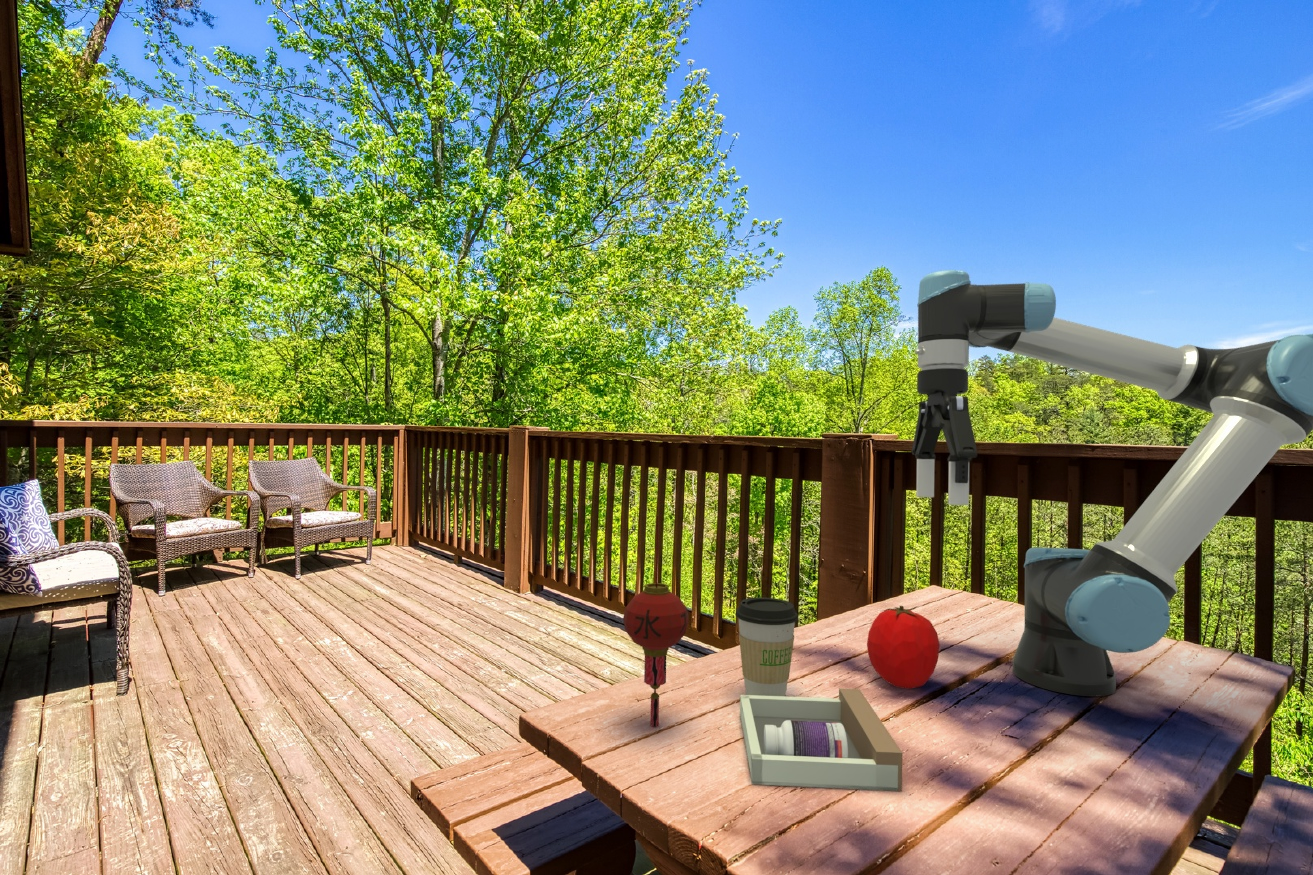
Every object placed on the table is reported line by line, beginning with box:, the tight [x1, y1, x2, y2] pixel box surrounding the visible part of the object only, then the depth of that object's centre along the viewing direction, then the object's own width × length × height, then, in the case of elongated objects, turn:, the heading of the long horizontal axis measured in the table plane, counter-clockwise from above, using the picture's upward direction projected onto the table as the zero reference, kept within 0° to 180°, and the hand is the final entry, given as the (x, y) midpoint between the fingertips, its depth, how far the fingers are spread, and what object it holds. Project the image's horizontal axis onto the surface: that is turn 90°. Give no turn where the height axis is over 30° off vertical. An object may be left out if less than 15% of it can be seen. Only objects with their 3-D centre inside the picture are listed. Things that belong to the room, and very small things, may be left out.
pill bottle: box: [764, 720, 848, 758], centre depth 78 cm, size 5×5×10 cm
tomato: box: [866, 605, 940, 690], centre depth 106 cm, size 12×12×13 cm
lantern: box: [622, 514, 690, 728], centre depth 90 cm, size 10×10×30 cm
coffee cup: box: [735, 596, 799, 697], centre depth 100 cm, size 10×10×15 cm
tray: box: [739, 687, 903, 792], centre depth 84 cm, size 18×19×4 cm
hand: (940, 500), depth 101 cm, fingers open, 13 cm apart
